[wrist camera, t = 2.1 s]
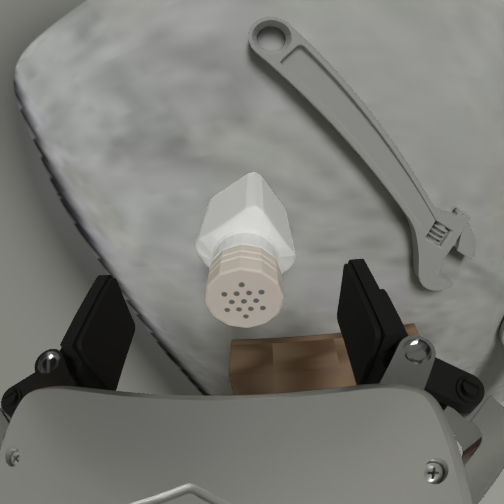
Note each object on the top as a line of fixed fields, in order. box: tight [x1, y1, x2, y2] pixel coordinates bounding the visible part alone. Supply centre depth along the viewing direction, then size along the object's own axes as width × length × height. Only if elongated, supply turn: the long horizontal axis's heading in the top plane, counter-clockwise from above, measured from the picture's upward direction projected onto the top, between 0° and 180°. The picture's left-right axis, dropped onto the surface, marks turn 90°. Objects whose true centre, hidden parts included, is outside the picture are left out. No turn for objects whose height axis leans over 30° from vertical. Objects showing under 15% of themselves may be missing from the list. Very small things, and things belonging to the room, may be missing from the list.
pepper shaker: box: [195, 172, 296, 328], centre depth 16 cm, size 4×4×10 cm
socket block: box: [229, 323, 420, 396], centre depth 28 cm, size 18×12×4 cm, turn 94°
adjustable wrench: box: [248, 17, 475, 291], centre depth 18 cm, size 25×6×2 cm, turn 42°
